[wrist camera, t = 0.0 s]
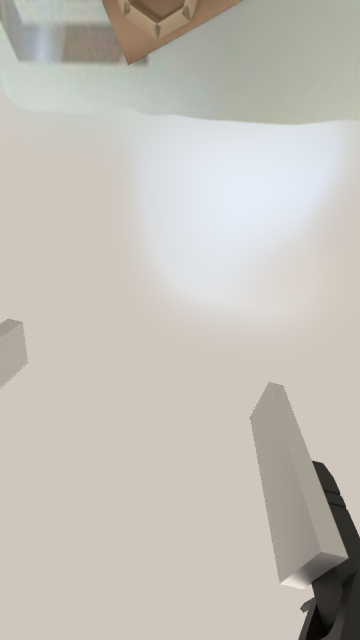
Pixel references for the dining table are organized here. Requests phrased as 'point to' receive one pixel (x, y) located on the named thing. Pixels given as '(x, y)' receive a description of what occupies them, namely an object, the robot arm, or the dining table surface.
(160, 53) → the dining table surface
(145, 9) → the socket board
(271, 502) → the robot arm
